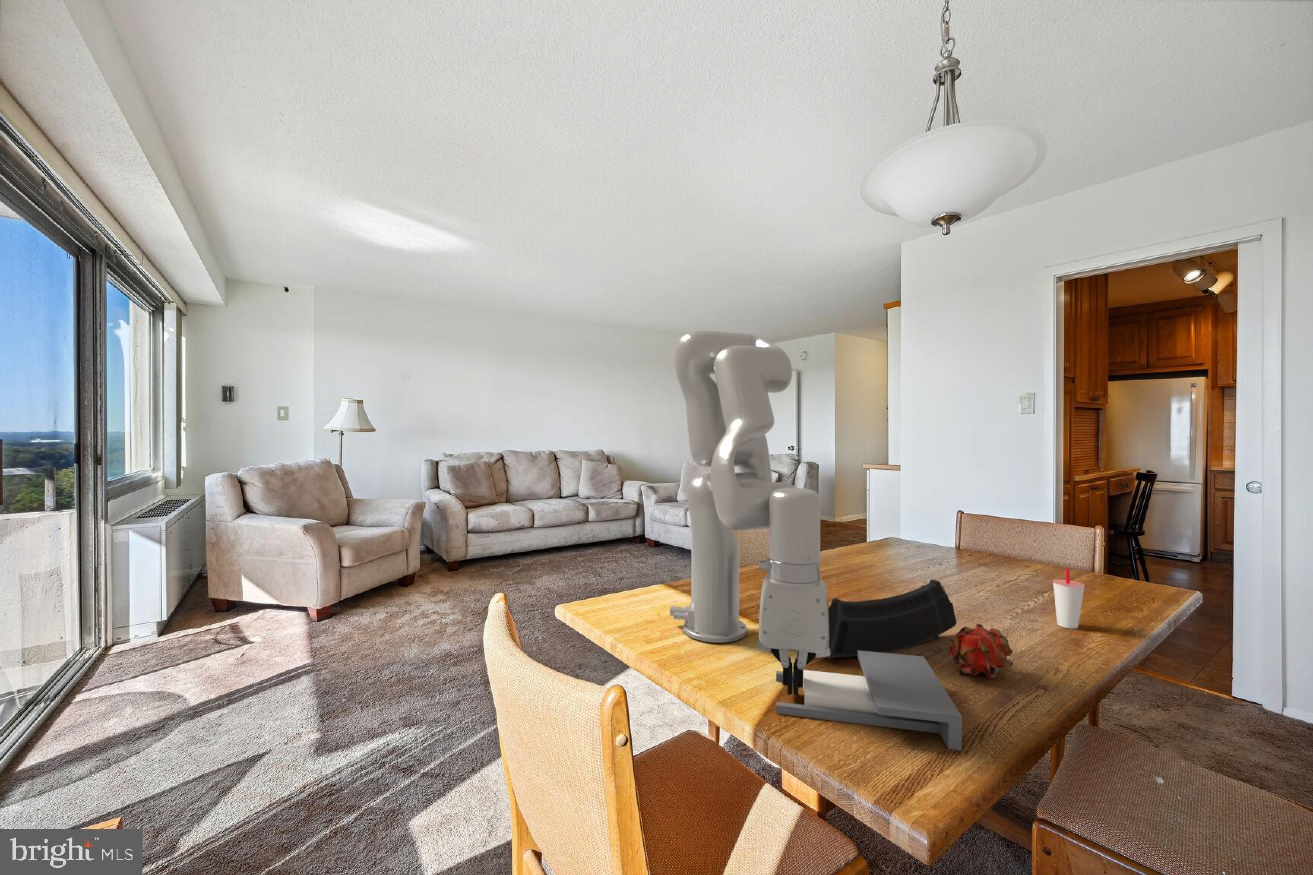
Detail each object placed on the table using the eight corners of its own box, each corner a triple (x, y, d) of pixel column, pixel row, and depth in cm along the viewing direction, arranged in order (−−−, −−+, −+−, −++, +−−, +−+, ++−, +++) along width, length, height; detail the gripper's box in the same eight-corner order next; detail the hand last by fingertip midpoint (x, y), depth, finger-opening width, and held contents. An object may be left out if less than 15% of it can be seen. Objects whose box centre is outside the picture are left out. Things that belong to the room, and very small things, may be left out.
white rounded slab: (805, 711, 77) (805, 694, 77) (803, 685, 85) (803, 669, 84) (887, 721, 74) (887, 704, 74) (877, 693, 82) (877, 677, 82)
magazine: (818, 614, 90) (942, 547, 102) (805, 608, 94) (927, 544, 105) (840, 706, 93) (959, 631, 104) (827, 697, 96) (944, 625, 107)
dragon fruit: (1007, 676, 92) (962, 701, 86) (966, 634, 97) (922, 655, 92) (1036, 649, 86) (991, 674, 81) (991, 606, 92) (946, 627, 87)
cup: (1046, 623, 112) (1047, 566, 111) (1059, 619, 114) (1061, 563, 114) (1075, 632, 107) (1077, 573, 107) (1089, 627, 109) (1090, 569, 109)
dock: (775, 726, 73) (776, 695, 73) (776, 668, 90) (776, 642, 90) (961, 750, 68) (962, 716, 68) (923, 683, 85) (923, 656, 85)
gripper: (742, 573, 79) (741, 696, 79) (849, 581, 75) (847, 709, 76) (745, 561, 86) (744, 674, 86) (843, 567, 82) (841, 684, 83)
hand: (792, 690), depth 81 cm, fingers closed
